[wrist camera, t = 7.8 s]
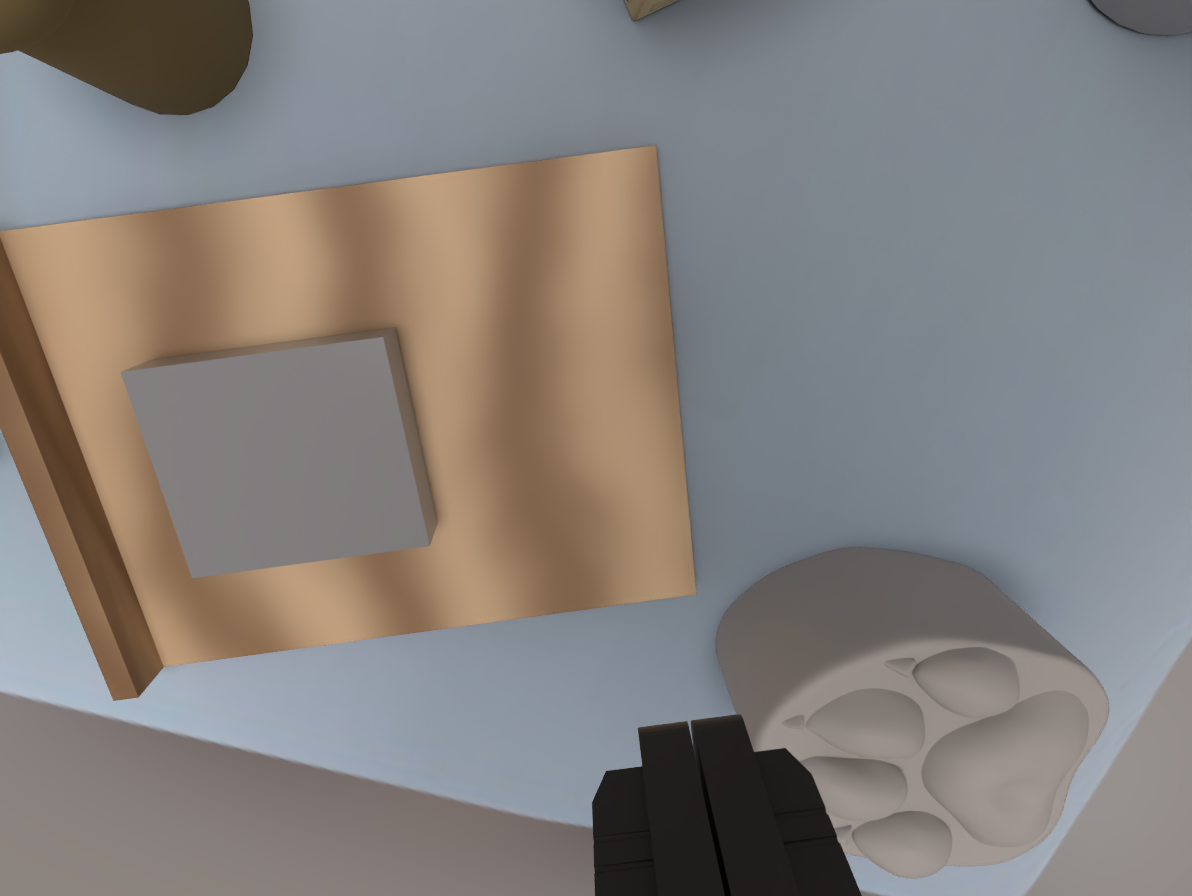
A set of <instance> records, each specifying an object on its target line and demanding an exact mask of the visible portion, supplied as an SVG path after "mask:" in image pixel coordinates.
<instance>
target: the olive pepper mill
mask: <svg viewBox="0 0 1192 896" xmlns="http://www.w3.org/2000/svg"><path fill="white" fill-rule="evenodd" d="M252 37H253V34H252V25H251V17H250V8H249V2H248V0H0V54H2V53H9V52H14V51H17V50H19V51H21V52H23V53H25V54H27V55H29V56H31V57H33V58H36V59H38V60H40V61H42V62H44V63H46V64H48V65H50V66H52V67H54V68H57V69H59V70H61V71H63V72H65V73H67V74H69V75H71V76H73V77H75V78H78V79H80V80H82V81H84V82H86V83H88V84H90V85H92V86H94V87H96V88H99V89H101V90H103V91H105V92H107V93H109V94H111V95H113V96H115V97H118V98H120V99H122V100H124V101H126V102H128V103H130V104H133V105H135V106H138V107H141V108H144V109H147V110H149V111H152V112H155V113H158V114H172V115H189V114H192V113H195V112H198V111H201V110H204V109H207V108H210V107H213V106H215V105H216V104H217V103H218V102H219V101H221V100H222V99H223V98H224V97H225V96H227V95H228V94H229V93H230V92H231V91H233V90H234V88H235V86H236V85H237V83H238V81H239V79H240V77H241V76H242V74H243V72H244V70H245V69H246V67H247V65H248V59H249V53H250V48H251V42H252Z"/></svg>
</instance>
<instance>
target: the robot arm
mask: <svg viewBox="0 0 1192 896" xmlns="http://www.w3.org/2000/svg"><path fill="white" fill-rule="evenodd" d="M1092 2H1093V3H1094V4H1095V6H1096V7H1097V8H1098V9H1099V10H1100V11H1102V12H1103V13H1104V14H1106V15H1107V16H1108V17H1110V18H1111V19H1112V20H1114V21H1115V22H1116V23H1118V24H1120V25H1122V26H1125V27H1127V28H1130V29H1133V30H1135V31H1138V32H1140V33H1146V34H1156V35H1165V36H1169V35H1176V34H1183V33H1190V32H1192V0H1092ZM691 731H692V740H693V745H692V740H691V735H690V731H689V726H688V723H687V721H686V722H678V723H670V724H662V725H655V726H647V727H639V728H638V733H639V741H640V750H641V758H642V767H635V768H627V769H619V770H611V771H606V772H605V775H604V777H603V779H602V782H601V784H600V786H599V788H598V791H597V793H596V795H595V797H594V800H593V802H592V811H593V838H594V868H595V874H594V875H595V896H861V893H860V891H859V888H858V886H857V883H856V881H855V878H854V876H853V873H852V871H851V869H850V866H849V864H848V861H847V859H846V856H845V854H844V851H843V849H842V847H841V844H840V843H839V842H838V839H837V834H836V832H835V829H834V827H833V825H832V822H831V820H830V817H829V815H828V814H827V813H826V808H825V805H824V803H823V800H822V798H821V795H820V793H819V790H818V788H817V785H816V783H815V781H814V778H813V776H812V774H811V773H810V772H809V771H808V770H807V769H806V768H805V767H804V766H803V765H802V764H801V763H800V762H799V761H798V760H797V759H796V758H795V757H794V756H793V755H792V754H791V753H790V752H789V751H788V750H787V749H786V748H781V749H773V750H765V751H757V752H754V750H753V747H752V744H751V741H750V738H749V735H748V732H747V729H746V726H745V723H744V720H743V717H742V715H741V714H738V715H730V716H723V717H715V718H707V719H699V720H692V721H691Z"/></svg>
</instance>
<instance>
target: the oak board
mask: <svg viewBox="0 0 1192 896" xmlns="http://www.w3.org/2000/svg"><path fill="white" fill-rule="evenodd" d="M392 327H395V328H396V332H397V337H398V342H399V346H400V351H401V356H402V360H403V365H404V369H405V374H406V379H407V383H408V388H409V393H410V397H411V402H412V406H413V411H414V416H415V420H416V425H417V430H418V434H419V439H420V444H421V448H422V453H423V457H424V462H425V467H426V471H427V476H428V481H429V485H430V490H431V494H432V499H433V504H434V508H435V513H436V518H437V522H438V525H437V527H436V530H435V533H434V536H433V538H432V541H431V544H430V546H427V547H420V548H412V549H405V550H398V551H390V552H383V553H375V554H368V555H361V556H353V557H346V558H339V559H331V560H324V561H316V562H309V563H302V564H294V565H287V566H280V567H272V568H265V569H258V570H250V571H243V572H235V573H228V574H221V575H213V576H206V577H199V578H192V576H191V574H190V571H189V568H188V565H187V562H186V559H185V556H184V554H183V551H182V548H181V545H180V542H179V539H178V536H177V533H176V531H175V528H174V525H173V522H172V519H171V516H170V513H169V510H168V508H167V505H166V502H165V499H164V496H163V493H162V490H161V488H160V485H159V482H158V479H157V476H156V473H155V470H154V467H153V465H152V462H151V459H150V456H149V453H148V450H147V447H146V444H145V442H144V439H143V436H142V433H141V430H140V427H139V424H138V422H137V419H136V416H135V413H134V410H133V407H132V404H131V401H130V399H129V396H128V393H127V390H126V387H125V384H124V381H123V378H122V376H121V373H120V372H122V371H124V370H126V369H129V368H131V367H134V366H136V365H139V364H141V363H144V362H146V361H149V360H152V359H159V358H167V357H174V356H182V355H189V354H197V353H204V352H212V351H219V350H227V349H234V348H242V347H249V346H257V345H264V344H272V343H279V342H287V341H294V340H302V339H309V338H317V337H324V336H332V335H339V334H347V333H354V332H362V331H370V330H377V329H385V328H392ZM0 428H1V431H2V433H3V436H4V438H5V440H6V443H7V445H8V448H9V450H10V452H11V455H12V457H13V460H14V462H15V464H16V467H17V469H18V472H19V474H20V476H21V479H22V481H23V484H24V486H25V489H26V491H27V493H28V496H29V498H30V501H31V503H32V505H33V508H34V510H35V513H36V515H37V517H38V520H39V522H40V525H41V527H42V529H43V532H44V534H45V537H46V539H47V542H48V544H49V546H50V549H51V551H52V554H53V556H54V558H55V561H56V563H57V566H58V568H59V570H60V573H61V575H62V578H63V580H64V582H65V585H66V587H67V590H68V592H69V595H70V597H71V599H72V602H73V604H74V607H75V609H76V611H77V614H78V616H79V619H80V621H81V623H82V626H83V628H84V631H85V633H86V635H87V638H88V640H89V643H90V645H91V648H92V650H93V652H94V655H95V657H96V660H97V662H98V664H99V667H100V669H101V672H102V674H103V676H104V679H105V681H106V684H107V686H108V688H109V691H110V693H111V696H112V698H113V701H116V700H123V699H130V698H138V697H139V696H140V695H141V694H142V692H143V691H144V690H145V689H146V688H147V686H148V685H149V684H150V683H151V682H152V680H153V679H154V678H155V677H156V676H157V674H158V673H159V672H160V671H161V670H162V668H163V667H168V666H175V665H182V664H190V663H197V662H204V661H212V660H219V659H226V658H233V657H241V656H248V655H255V654H263V653H270V652H277V651H285V650H292V649H299V648H307V647H314V646H321V645H329V644H336V643H343V642H351V641H358V640H365V639H372V638H380V637H387V636H394V635H402V634H409V633H416V632H424V631H431V630H438V629H446V628H453V627H460V626H468V625H475V624H482V623H490V622H497V621H504V620H511V619H519V618H526V617H533V616H541V615H548V614H555V613H563V612H570V611H577V610H585V609H592V608H599V607H607V606H614V605H621V604H628V603H636V602H643V601H650V600H658V599H665V598H672V597H680V596H687V595H694V594H696V584H695V573H694V562H693V551H692V540H691V529H690V518H689V506H688V495H687V484H686V473H685V462H684V451H683V440H682V428H681V417H680V406H679V395H678V384H677V373H676V361H675V350H674V339H673V328H672V317H671V306H670V295H669V283H668V272H667V261H666V250H665V239H664V228H663V217H662V205H661V194H660V183H659V172H658V161H657V150H656V145H654V146H647V147H639V148H631V149H624V150H616V151H609V152H601V153H593V154H586V155H578V156H570V157H563V158H555V159H548V160H540V161H532V162H525V163H517V164H510V165H502V166H494V167H487V168H479V169H472V170H464V171H456V172H449V173H441V174H433V175H426V176H418V177H411V178H403V179H395V180H388V181H380V182H373V183H365V184H357V185H350V186H342V187H335V188H327V189H319V190H312V191H304V192H296V193H289V194H281V195H274V196H266V197H258V198H251V199H243V200H236V201H228V202H220V203H213V204H205V205H197V206H190V207H182V208H175V209H167V210H159V211H152V212H144V213H137V214H129V215H121V216H114V217H106V218H99V219H91V220H83V221H76V222H68V223H60V224H53V225H45V226H38V227H30V228H22V229H15V230H7V231H0Z"/></svg>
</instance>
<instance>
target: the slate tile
mask: <svg viewBox="0 0 1192 896" xmlns="http://www.w3.org/2000/svg"><path fill="white" fill-rule="evenodd" d="M120 373H121V376H122V378H123V381H124V384H125V387H126V390H127V393H128V396H129V399H130V401H131V404H132V407H133V410H134V413H135V416H136V419H137V422H138V424H139V427H140V430H141V433H142V436H143V439H144V442H145V444H146V447H147V450H148V453H149V456H150V459H151V462H152V465H153V467H154V470H155V473H156V476H157V479H158V482H159V485H160V488H161V490H162V493H163V496H164V499H165V502H166V505H167V508H168V510H169V513H170V516H171V519H172V522H173V525H174V528H175V531H176V533H177V536H178V539H179V542H180V545H181V548H182V551H183V554H184V556H185V559H186V562H187V565H188V568H189V571H190V574H191V576H192V578H199V577H206V576H213V575H221V574H228V573H235V572H243V571H250V570H258V569H265V568H272V567H280V566H287V565H294V564H302V563H309V562H316V561H324V560H331V559H339V558H346V557H353V556H361V555H368V554H375V553H383V552H390V551H398V550H405V549H412V548H420V547H427V546H430V544H431V541H432V538H433V536H434V533H435V530H436V527H437V525H438V522H437V518H436V513H435V508H434V504H433V499H432V494H431V490H430V485H429V481H428V476H427V471H426V467H425V462H424V457H423V453H422V448H421V444H420V439H419V434H418V430H417V425H416V420H415V416H414V411H413V406H412V402H411V397H410V393H409V388H408V383H407V379H406V374H405V369H404V365H403V360H402V356H401V351H400V346H399V342H398V337H397V332H396V328H395V327H392V328H385V329H377V330H370V331H362V332H354V333H347V334H339V335H332V336H324V337H317V338H309V339H302V340H294V341H287V342H279V343H272V344H264V345H257V346H249V347H242V348H234V349H227V350H219V351H212V352H204V353H197V354H189V355H182V356H174V357H167V358H159V359H152V360H149V361H146V362H144V363H141V364H139V365H136V366H134V367H131V368H129V369H126V370H124V371H122V372H120Z"/></svg>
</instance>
